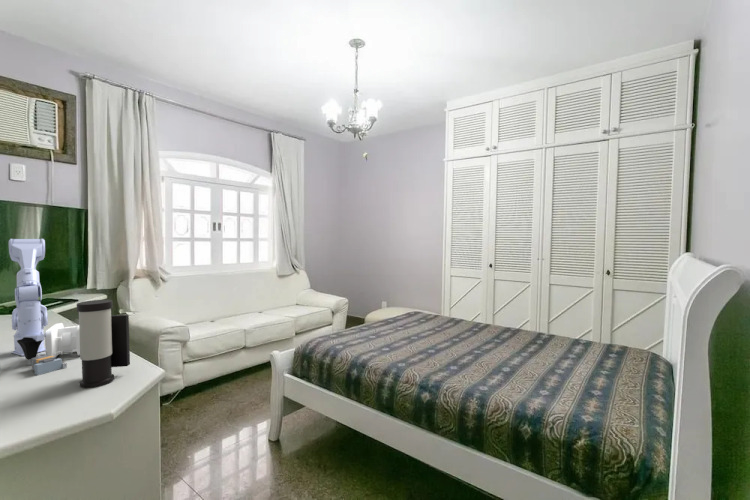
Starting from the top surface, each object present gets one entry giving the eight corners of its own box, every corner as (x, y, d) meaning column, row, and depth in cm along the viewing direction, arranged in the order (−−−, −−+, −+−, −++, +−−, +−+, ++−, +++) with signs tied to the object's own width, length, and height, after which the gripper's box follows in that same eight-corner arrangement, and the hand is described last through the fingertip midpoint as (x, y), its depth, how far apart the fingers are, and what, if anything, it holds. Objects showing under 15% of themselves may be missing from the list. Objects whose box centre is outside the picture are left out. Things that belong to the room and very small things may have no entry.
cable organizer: (82, 358, 127) (81, 326, 127) (43, 363, 122) (42, 330, 122) (91, 347, 140) (90, 318, 140) (56, 351, 135) (55, 322, 135)
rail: (36, 361, 124) (36, 356, 124) (39, 360, 125) (39, 355, 125) (63, 368, 117) (62, 364, 117) (66, 367, 118) (66, 363, 118)
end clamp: (34, 374, 112) (34, 362, 112) (59, 367, 118) (58, 356, 118) (37, 375, 111) (37, 363, 111) (62, 368, 117) (61, 357, 117)
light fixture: (65, 390, 100) (62, 305, 99) (88, 375, 111) (86, 299, 110) (112, 386, 103) (109, 303, 102) (130, 372, 113) (128, 297, 112)
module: (31, 370, 116) (31, 358, 116) (47, 366, 120) (47, 354, 120) (40, 373, 114) (39, 360, 114) (56, 368, 117) (55, 356, 117)
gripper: (3, 320, 119) (5, 359, 120) (24, 324, 113) (25, 365, 114) (30, 316, 126) (32, 352, 126) (51, 320, 120) (52, 358, 120)
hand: (31, 358), depth 121 cm, fingers closed
